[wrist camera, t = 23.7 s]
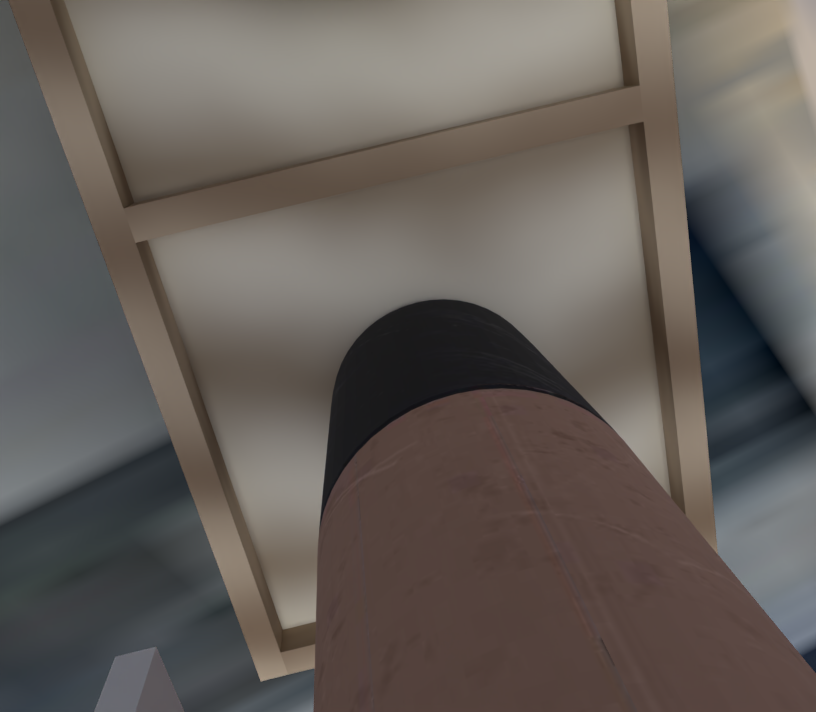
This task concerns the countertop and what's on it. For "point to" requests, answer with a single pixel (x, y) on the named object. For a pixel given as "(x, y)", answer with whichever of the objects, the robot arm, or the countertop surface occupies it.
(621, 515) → the travel mug
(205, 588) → the countertop surface
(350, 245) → the two-bay tray
